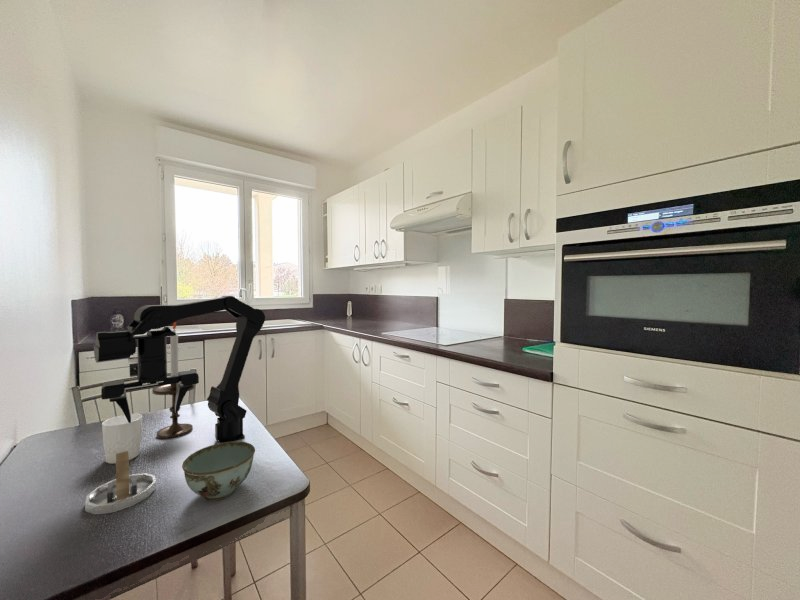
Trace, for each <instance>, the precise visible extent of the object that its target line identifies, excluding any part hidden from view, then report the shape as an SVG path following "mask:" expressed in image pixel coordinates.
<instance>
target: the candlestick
mask: <svg viewBox="0 0 800 600" xmlns="http://www.w3.org/2000/svg"><path fill="white" fill-rule="evenodd" d="M176 327H177V322H175V323H173V324H172V329H173V330H172V331H173V332H175V333H176V335H175V336H170V377H171V376H178V372H179V334H178V333H177V332H176ZM196 385H197V384H193V387H192V388H189V389H188V391H187V392H190V391H193V390H194V389H196ZM151 391H152V395H155V396H171V400H172V401H171V407H169V412H170V413H171V415H169V416H170V417H169V418H170V419H171V420H172V423H171V425H168V426H165V427H163V428H160V429H159V430H158V431H156V438H157V439H159V440H171V439H176V438H177V439H178V438H180V437H184V436H187V435H188V434H190V433H191V432H192V431H193V428H194V427H193V424H190V423H179V417H180V416H181V414H179V411H180V410H181V406H180V407H179V410H178V412H177V413H175V400H176V391H177V383H174V384H167V385H161V386H155V387H152V390H151Z"/></svg>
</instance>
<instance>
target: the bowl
mask: <svg viewBox="0 0 800 600" xmlns="http://www.w3.org/2000/svg"><path fill="white" fill-rule="evenodd" d="M255 452H256V448H255V447H254V445H253V444H251V443H249V442H247V441H237V440H234V441H230V442H225V443H219V442H218V443H215V444H212V445H209V446H206V447H203V448H200V449H199V450H196V451H194V452H193V453H191V454H189V456H187V458H185V459H184V460H183V462H182V464H181V468H182V470H183V473H184V479H185V482H186V485H187V487H188V488H189V489H190V491H192V493H194V494H196V495H198V496H200V497H204V499H205V500H206V501H211V502H213V501H220V500H223V499H226V498H228V497H230V496H231V495H232V494H233V493H234V492H235V491H237V488H238V487H240V485H241V484H243V483H244V481H245V480H246V478H247V477H248V476H249V473H250V472H251V469H252V466H253V462H254V455H255Z"/></svg>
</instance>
